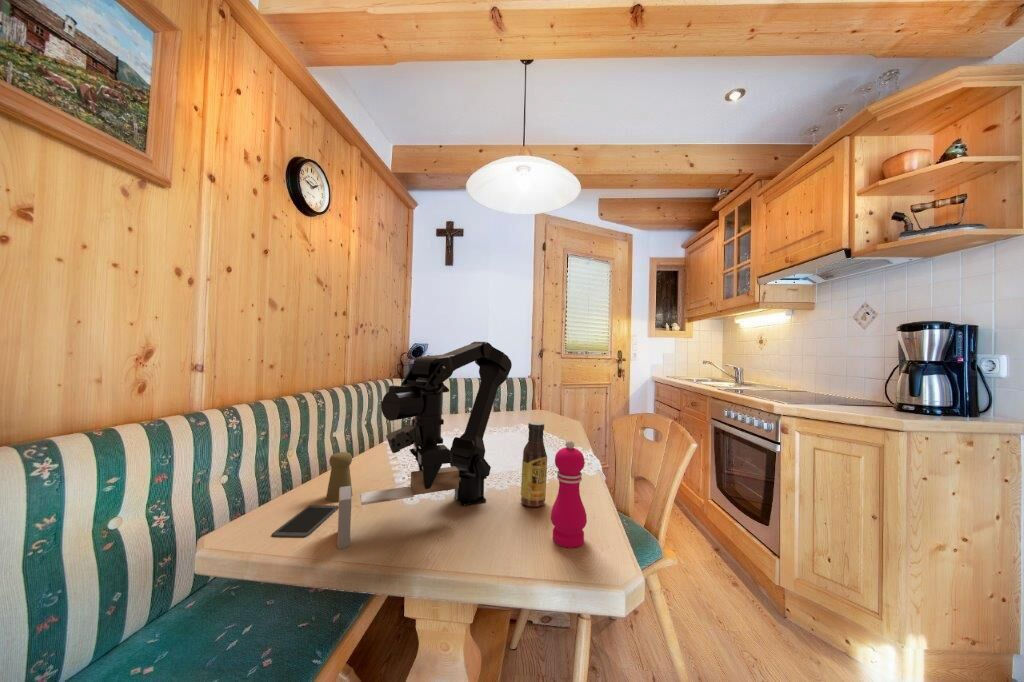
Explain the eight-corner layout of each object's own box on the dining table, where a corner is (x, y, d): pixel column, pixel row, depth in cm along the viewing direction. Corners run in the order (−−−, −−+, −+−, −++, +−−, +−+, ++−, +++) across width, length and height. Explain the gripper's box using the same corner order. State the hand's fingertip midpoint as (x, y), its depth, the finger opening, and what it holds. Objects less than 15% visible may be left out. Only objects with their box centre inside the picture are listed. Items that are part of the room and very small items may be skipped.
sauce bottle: (532, 510, 84) (534, 427, 84) (515, 502, 89) (517, 422, 89) (551, 503, 88) (553, 423, 89) (533, 495, 93) (535, 419, 93)
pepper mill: (543, 534, 73) (545, 437, 74) (573, 528, 76) (575, 435, 77) (562, 552, 66) (564, 446, 67) (593, 545, 69) (595, 443, 70)
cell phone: (340, 508, 84) (340, 505, 84) (306, 539, 70) (306, 535, 70) (309, 507, 84) (309, 504, 84) (269, 538, 70) (269, 535, 70)
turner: (453, 482, 82) (453, 465, 82) (459, 490, 78) (460, 471, 78) (360, 495, 73) (361, 476, 73) (361, 505, 69) (362, 484, 69)
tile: (349, 529, 73) (350, 485, 74) (349, 546, 67) (351, 498, 67) (337, 531, 72) (339, 487, 73) (337, 549, 66) (338, 500, 66)
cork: (341, 503, 86) (343, 457, 86) (320, 500, 87) (322, 455, 87) (357, 493, 92) (359, 450, 92) (337, 491, 93) (338, 449, 93)
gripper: (384, 409, 82) (382, 476, 82) (396, 424, 65) (393, 509, 65) (432, 407, 87) (430, 470, 87) (454, 421, 70) (451, 500, 70)
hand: (425, 485), depth 77 cm, fingers closed on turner, 3 cm apart
